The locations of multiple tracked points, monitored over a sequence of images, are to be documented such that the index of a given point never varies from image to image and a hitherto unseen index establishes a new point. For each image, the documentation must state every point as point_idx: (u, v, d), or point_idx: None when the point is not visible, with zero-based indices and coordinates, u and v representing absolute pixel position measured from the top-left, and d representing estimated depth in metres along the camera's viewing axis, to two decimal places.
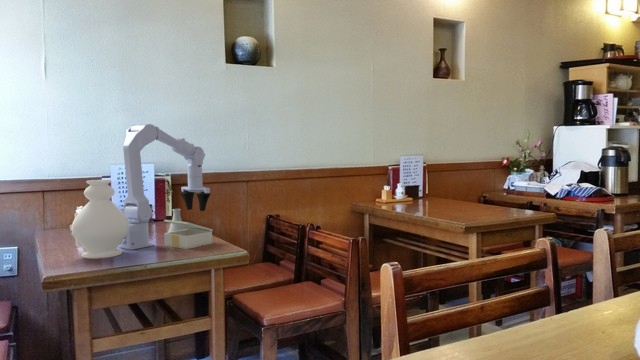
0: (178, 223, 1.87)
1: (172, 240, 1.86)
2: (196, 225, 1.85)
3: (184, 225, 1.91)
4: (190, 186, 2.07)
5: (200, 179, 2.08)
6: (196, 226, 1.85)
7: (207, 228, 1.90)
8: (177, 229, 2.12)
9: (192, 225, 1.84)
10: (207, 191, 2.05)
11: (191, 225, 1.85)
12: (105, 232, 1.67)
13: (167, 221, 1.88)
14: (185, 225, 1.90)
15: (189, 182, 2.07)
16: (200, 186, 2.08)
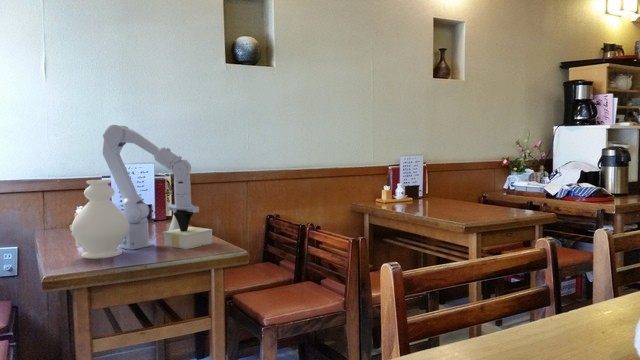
0: None
1: (172, 240, 1.86)
2: (195, 233, 1.85)
3: None
4: (177, 205, 1.85)
5: (188, 197, 1.86)
6: (195, 234, 1.85)
7: (206, 231, 1.89)
8: None
9: None
10: (196, 210, 1.84)
11: (190, 234, 1.85)
12: (105, 232, 1.67)
13: (166, 233, 1.87)
14: None
15: (176, 200, 1.85)
16: (188, 204, 1.86)
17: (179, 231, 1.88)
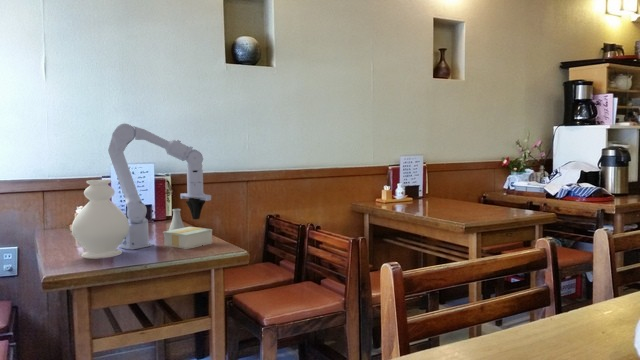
0: None
1: (172, 240, 1.86)
2: (195, 233, 1.85)
3: None
4: (190, 193, 1.90)
5: (201, 185, 1.91)
6: (195, 234, 1.85)
7: (206, 231, 1.89)
8: None
9: None
10: (208, 198, 1.88)
11: (190, 234, 1.85)
12: (105, 232, 1.67)
13: (166, 233, 1.87)
14: None
15: (189, 189, 1.90)
16: (201, 193, 1.91)
17: (179, 231, 1.88)
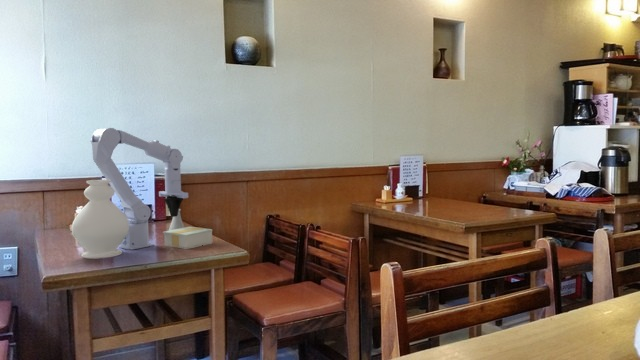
0: None
1: (172, 240, 1.86)
2: (195, 233, 1.85)
3: None
4: (167, 191, 1.94)
5: (178, 183, 1.95)
6: (195, 234, 1.85)
7: (206, 231, 1.89)
8: None
9: None
10: (185, 196, 1.92)
11: (190, 234, 1.85)
12: (105, 232, 1.67)
13: (166, 233, 1.87)
14: None
15: (166, 186, 1.94)
16: (178, 191, 1.95)
17: (179, 231, 1.88)
